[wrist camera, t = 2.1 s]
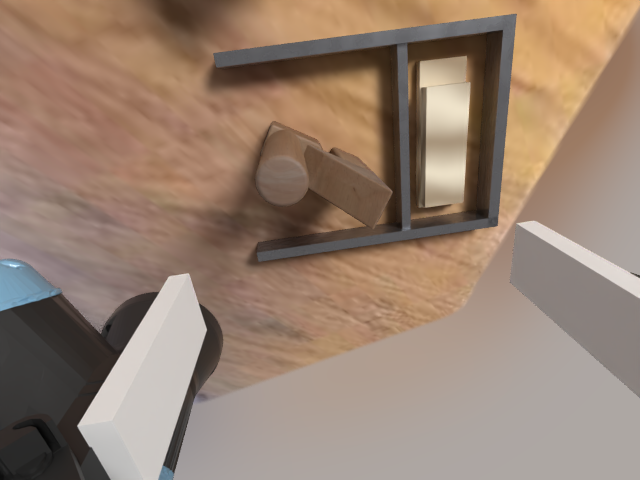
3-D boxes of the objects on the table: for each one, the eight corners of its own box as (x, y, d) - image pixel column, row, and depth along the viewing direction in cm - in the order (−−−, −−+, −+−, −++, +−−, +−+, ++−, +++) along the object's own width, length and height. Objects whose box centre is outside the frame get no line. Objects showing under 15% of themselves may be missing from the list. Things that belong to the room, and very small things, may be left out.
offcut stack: (453, 198, 45) (464, 206, 42) (414, 203, 44) (423, 211, 42) (460, 56, 38) (474, 54, 35) (415, 62, 38) (425, 60, 35)
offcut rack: (484, 217, 46) (497, 226, 43) (260, 250, 45) (258, 261, 42) (499, 19, 37) (516, 13, 34) (218, 55, 36) (213, 53, 33)
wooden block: (347, 186, 42) (386, 250, 26) (261, 151, 40) (243, 197, 23) (360, 157, 41) (410, 205, 25) (272, 119, 39) (263, 144, 22)
